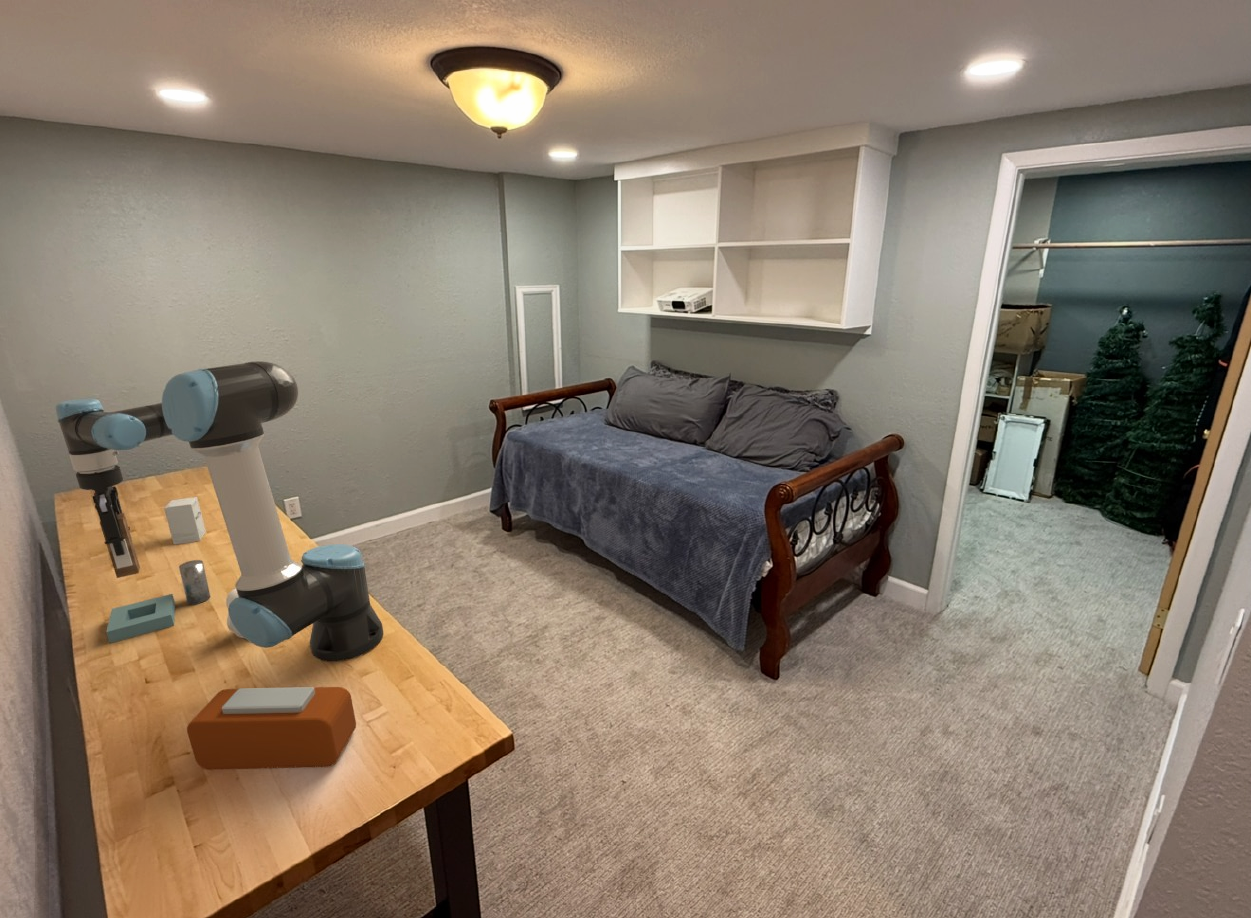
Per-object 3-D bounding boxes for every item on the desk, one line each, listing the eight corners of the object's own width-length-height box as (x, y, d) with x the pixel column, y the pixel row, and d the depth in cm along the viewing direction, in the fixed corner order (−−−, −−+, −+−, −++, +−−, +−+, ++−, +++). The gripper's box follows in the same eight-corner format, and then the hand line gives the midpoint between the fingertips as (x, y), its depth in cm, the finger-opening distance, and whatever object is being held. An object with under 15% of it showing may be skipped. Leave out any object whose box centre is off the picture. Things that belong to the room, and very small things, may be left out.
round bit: (211, 600, 153) (203, 565, 151) (187, 606, 150) (179, 570, 148) (209, 592, 157) (201, 558, 154) (186, 598, 154) (178, 563, 151)
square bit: (138, 573, 139) (122, 518, 135) (116, 578, 137) (99, 522, 133) (139, 566, 142) (124, 512, 138) (118, 571, 140) (101, 517, 136)
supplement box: (200, 541, 187) (191, 504, 184) (172, 545, 185) (162, 507, 181) (206, 532, 194) (197, 496, 190) (180, 535, 191) (170, 499, 188)
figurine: (228, 643, 135) (216, 597, 132) (239, 625, 142) (228, 580, 139) (262, 638, 137) (252, 592, 133) (272, 620, 144) (262, 576, 140)
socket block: (174, 625, 142) (171, 614, 142) (109, 643, 136) (106, 631, 135) (175, 603, 152) (172, 593, 151) (115, 619, 145) (111, 608, 144)
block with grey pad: (358, 731, 109) (349, 680, 105) (338, 767, 101) (327, 713, 97) (228, 734, 109) (214, 682, 105) (197, 770, 101) (180, 716, 97)
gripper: (115, 475, 127) (143, 572, 134) (122, 456, 140) (148, 545, 148) (68, 482, 123) (100, 582, 130) (80, 461, 136) (109, 553, 144)
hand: (125, 562), depth 139 cm, fingers closed on square bit, 4 cm apart
